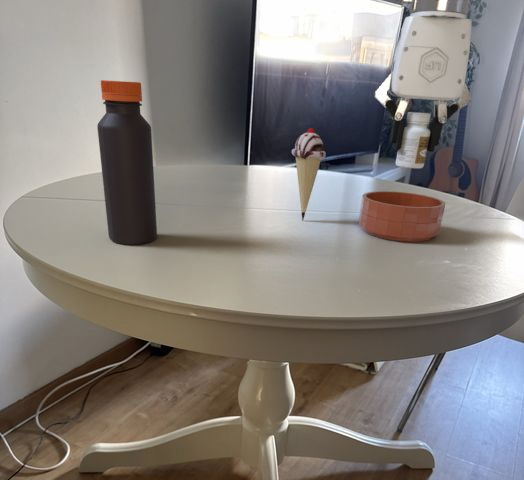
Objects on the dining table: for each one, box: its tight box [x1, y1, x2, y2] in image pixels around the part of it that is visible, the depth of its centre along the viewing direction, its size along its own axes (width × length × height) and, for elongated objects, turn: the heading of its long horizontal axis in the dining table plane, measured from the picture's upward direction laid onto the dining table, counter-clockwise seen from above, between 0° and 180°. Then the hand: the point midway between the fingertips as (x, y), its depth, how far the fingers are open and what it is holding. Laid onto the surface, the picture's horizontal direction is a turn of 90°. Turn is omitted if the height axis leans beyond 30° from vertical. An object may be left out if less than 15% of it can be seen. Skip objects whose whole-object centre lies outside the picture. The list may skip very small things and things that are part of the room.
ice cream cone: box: [291, 127, 327, 222], centre depth 81 cm, size 6×6×15 cm
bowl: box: [357, 190, 446, 243], centre depth 80 cm, size 13×13×6 cm
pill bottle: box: [395, 111, 432, 169], centre depth 74 cm, size 4×4×8 cm
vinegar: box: [97, 79, 158, 246], centre depth 65 cm, size 7×7×20 cm
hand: (412, 148), depth 75 cm, fingers closed on pill bottle, 4 cm apart
